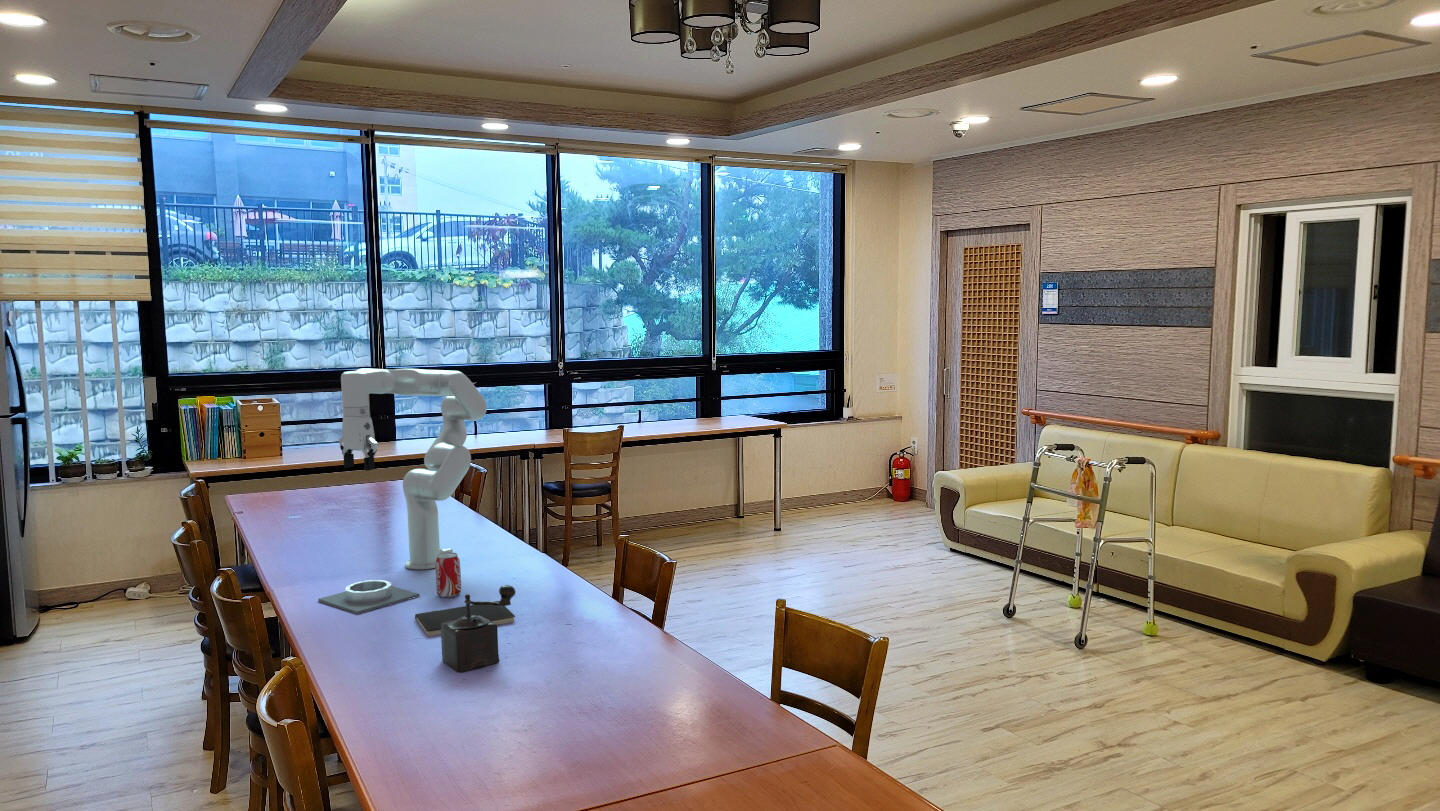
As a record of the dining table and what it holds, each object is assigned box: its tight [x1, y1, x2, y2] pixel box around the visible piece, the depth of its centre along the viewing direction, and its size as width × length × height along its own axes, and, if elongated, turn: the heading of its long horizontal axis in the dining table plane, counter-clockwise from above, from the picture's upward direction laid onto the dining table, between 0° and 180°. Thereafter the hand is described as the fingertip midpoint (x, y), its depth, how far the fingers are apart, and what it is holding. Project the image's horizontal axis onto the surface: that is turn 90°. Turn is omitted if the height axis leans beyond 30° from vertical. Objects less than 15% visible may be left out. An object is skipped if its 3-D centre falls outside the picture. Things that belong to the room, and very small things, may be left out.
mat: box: [318, 585, 420, 615], centre depth 289 cm, size 20×20×1 cm
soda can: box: [434, 552, 462, 598], centre depth 291 cm, size 7×7×12 cm
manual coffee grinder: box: [440, 584, 516, 674], centre depth 238 cm, size 16×11×18 cm
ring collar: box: [345, 579, 392, 603], centre depth 289 cm, size 12×12×3 cm
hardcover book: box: [414, 600, 516, 637], centre depth 268 cm, size 16×23×2 cm
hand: (359, 468), depth 301 cm, fingers open, 9 cm apart
